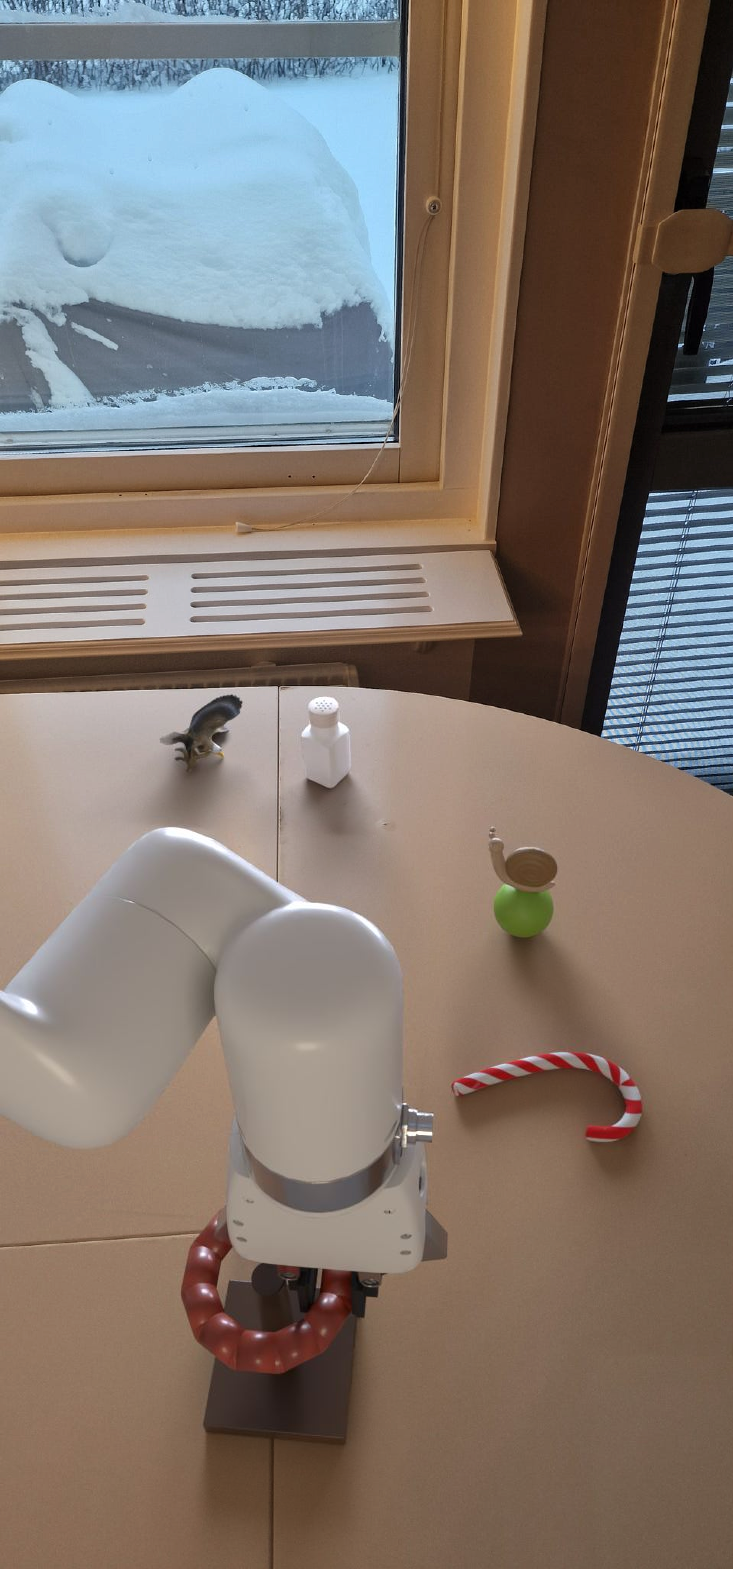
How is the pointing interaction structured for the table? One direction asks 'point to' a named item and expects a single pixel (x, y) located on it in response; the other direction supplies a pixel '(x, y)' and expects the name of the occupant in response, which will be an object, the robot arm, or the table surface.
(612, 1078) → the candy cane
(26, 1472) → the table surface
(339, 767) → the pepper shaker
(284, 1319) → the post
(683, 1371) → the table surface
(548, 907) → the snail figurine
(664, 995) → the table surface
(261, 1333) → the ring
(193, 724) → the eagle figurine
